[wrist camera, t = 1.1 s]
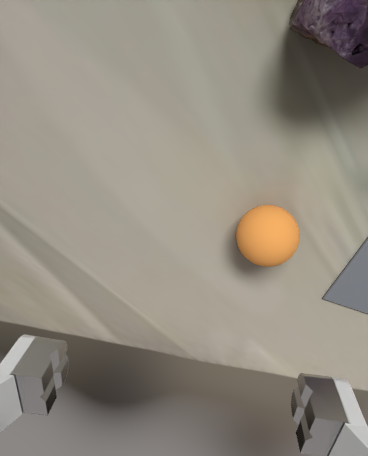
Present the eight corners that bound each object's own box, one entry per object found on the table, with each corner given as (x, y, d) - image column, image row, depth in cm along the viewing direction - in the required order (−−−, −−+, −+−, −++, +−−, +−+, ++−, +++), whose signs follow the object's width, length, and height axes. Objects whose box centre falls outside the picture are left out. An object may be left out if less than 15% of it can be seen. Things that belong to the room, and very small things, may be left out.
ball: (225, 235, 32) (228, 267, 28) (248, 187, 30) (256, 213, 25) (275, 252, 33) (286, 286, 28) (302, 206, 30) (320, 236, 26)
